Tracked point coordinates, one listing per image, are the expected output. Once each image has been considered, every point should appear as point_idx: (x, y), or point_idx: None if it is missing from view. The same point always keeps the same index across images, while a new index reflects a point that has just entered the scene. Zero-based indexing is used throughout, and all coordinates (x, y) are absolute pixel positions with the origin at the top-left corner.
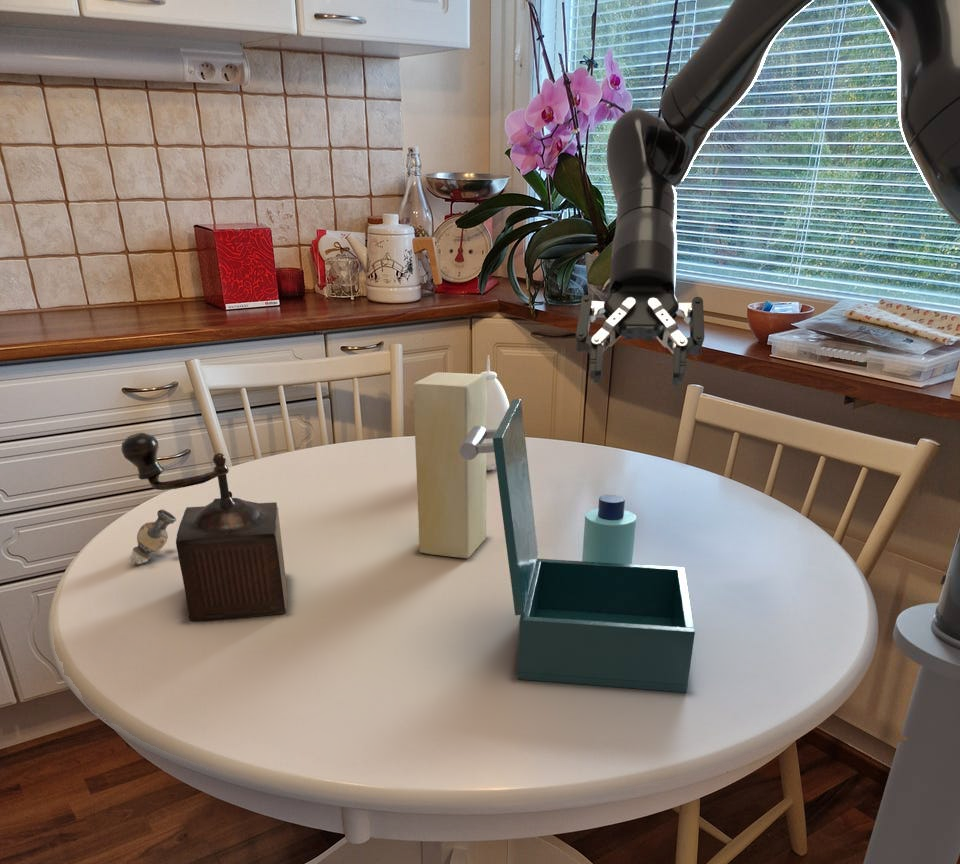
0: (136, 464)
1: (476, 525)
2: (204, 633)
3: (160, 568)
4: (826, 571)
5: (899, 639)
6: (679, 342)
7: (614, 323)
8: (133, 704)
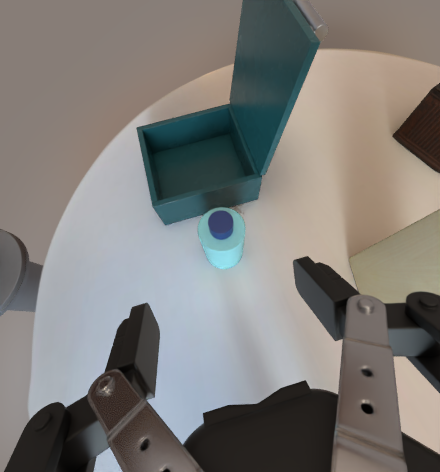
0: None
1: (367, 277)
2: (409, 104)
3: None
4: (52, 374)
5: (25, 259)
6: (115, 378)
7: (350, 355)
8: (374, 56)
